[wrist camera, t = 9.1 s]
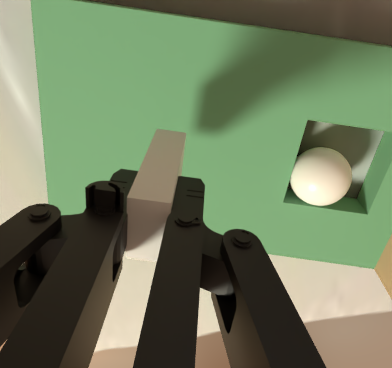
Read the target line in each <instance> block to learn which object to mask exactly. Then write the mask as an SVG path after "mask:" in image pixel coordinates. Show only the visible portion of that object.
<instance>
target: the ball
mask: <svg viewBox="0 0 392 368" xmlns="http://www.w3.org/2000/svg"><path fill="white" fill-rule="evenodd" d="M351 181H352V172H351V167H350V165H349V163H348V161H347V160H346V159H345V157H344V156H343V155H342V154H340V153H339V152H337V151H335V150H333V149H330V148H325V147H316V148H312V149H309V150H307V151H305V152H303V153H302V154H300V155H299V156H298V157H297V158H296V160H295V164H294V167H293V171H292V174H291V177H290V183H291V187H292V189H293V191H294V192H295V194H296V195H297V196H298V197H299V198H300V199H301V200H303V201H304V202H306V203H309V204H312V205H317V206H324V205H330V204H333V203H335V202H337V201H338V200H340V199H341V198H342V197H343V196H344V195H345V194H346V193H347V191H348V190H349V188H350V185H351Z"/></svg>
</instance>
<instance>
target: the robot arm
mask: <svg viewBox="0 0 392 368" xmlns="http://www.w3.org/2000/svg"><path fill="white" fill-rule="evenodd" d="M185 140H186V133H185V132H177V131H170V130H163V129H157V130H156V132H155V134H154V137H153V139H152V141H151V143H150V146H149V148H148V150H147V153H146V155H145V157H144V160H143V162H142V164H141V166H140V169H139V171H135V170H127V169H120V170H118V171H117V172H115V173H113V175H112V177H111V178H110V181H96V182H93V183H91V184H89V185H88V186H86V187H85V196H86V209H85V210H84V212H83V213H80V214H73V215H61V211H60V210H59V208H58V207H56V206H54V205H50V204H36V205H32V206H29V207H27V208H25V209H23V210H21V211H20V212H19V213H17V214H16V215H14V216H13V217H12V218H10V219H9V220H7V221H6V222H5V223H3V224H2V225H0V346H1V345H2V344H3V343H4V342H5V341H6V340H7V341H6V343H5V344H4V346H3V348H2V349H1V351H0V368H88V367H89V364H90V361H91V358H92V355H93V352H94V349H95V347H96V344H97V341H98V338H99V335H100V332H101V329H102V326H103V323H104V320H105V317H106V314H107V311H108V308H109V305H110V302H111V299H112V296H113V293H114V290H115V288H116V285H117V282H118V279H119V276H120V273H121V270H122V257H123V254H124V252H125V258H128V259H136V260H143V261H151V262H157V264H156V268H155V272H154V277H153V281H152V285H151V290H150V294H149V299H148V303H147V307H146V312H145V316H144V321H143V325H142V329H141V334H140V338H139V343H138V347H137V351H136V356H135V360H134V365H133V368H195V354H196V339H197V324H198V308H199V293H200V288H203V289H205V290H207V291H210V292H211V298H212V301H213V305H214V308H215V312H216V316H217V319H218V323H219V327H220V330H221V334H222V338H223V341H224V345H225V348H226V352H227V355H228V359H229V363H230V367H231V368H326V366H325V364H324V362H323V360H322V358H321V356H320V354H319V353H318V351H317V349H316V347H315V345H314V343H313V341H312V339H311V337H310V335H309V333H308V331H307V330H306V327H305V326H304V324H303V322H302V320H301V318H300V316H299V314H298V312H297V310H296V308H295V306H294V304H293V302H292V300H291V299H290V297H289V295H288V293H287V291H286V289H285V287H284V285H283V283H282V281H281V279H280V277H279V275H278V273H277V272H276V270H275V268H274V266H273V264H272V262H271V260H270V258H269V256H268V254H267V252H266V250H265V248H264V246H263V245H262V243H261V241H260V239H259V238H258V237H257V236H256V235H255V234H253V233H252V232H249V231H247V230H244V229H231V230H228V231H227V232H225V233H224V235H222V234H219V233H216V232H214V231H212V230H211V229H209V228H208V227H207V226H206V225H205V223H204V221H203V210H204V195H205V184H204V183H203V181H202V180H201V179H199V178H192V177H185V176H181V174H182V166H183V157H184V149H185ZM24 262H25V263H24Z"/></svg>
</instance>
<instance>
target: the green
mask: <svg viewBox="0 0 392 368" xmlns="http://www.w3.org/2000/svg"><path fill="white" fill-rule="evenodd" d="M31 10H32V22H33V33H34V44H35V55H36V67H37V78H38V89H39V101H40V112H41V123H42V135H43V146H44V157H45V169H46V180H47V191H48V203H49V204H50V205H54V206H56V207H58V208H59V210H60V211H61V215H73V214H80V213H83V212H84V210H85V209H86V196H85V187H86V186H88V185H89V184H91V183H93V182H96V181H110V178H111V177H112V175H113V173H115V172H117V171H118V170H120V169H127V170H135V171H139V169H140V166H141V164H142V162H143V160H144V157H145V155H146V153H147V150H148V148H149V146H150V143H151V141H152V139H153V137H154V134H155V132H156V130H157V129H163V130H170V131H177V132H185V133H186V140H185V149H184V157H183V166H182V174H181V176H185V177H192V178H199V179H201V180H202V181H203V183H204V184H205V195H204V210H203V221H204V223H205V225H206V226H207V227H208V228H209V229H211V230H212V231H214V232H216V233H219V234H222V235H224V233H225V232H227V231H228V230H231V229H244V230H247V231H249V232H252V233H253V234H255V235H256V236H257V237H258V238H259V239H260V241H261V243H262V245H263V246H264V248H265V250H266V252H267V254H272V255H279V256H286V257H293V258H300V259H307V260H315V261H322V262H329V263H336V264H343V265H350V266H357V267H364V268H371V269H375V271H376V273H377V275H378V276H379V278H380V280H381V282H382V283H383V285H384V287H385V288H386V290H387V292H388V294H389V295H390V297H391V299H392V46H389V45H383V44H376V43H369V42H363V41H356V40H349V39H342V38H336V37H329V36H322V35H316V34H309V33H302V32H296V31H289V30H282V29H275V28H269V27H262V26H255V25H249V24H242V23H235V22H228V21H222V20H215V19H208V18H202V17H195V16H188V15H181V14H175V13H168V12H161V11H155V10H148V9H141V8H134V7H128V6H121V5H114V4H108V3H101V2H94V1H87V0H31ZM307 120H312V121H318V122H325V123H332V124H339V125H346V126H353V127H359V128H366V129H373V130H380V131H385V132H384V134H383V137H382V139H381V141H380V144H379V146H378V149H377V151H376V153H375V156H374V158H373V161H372V163H371V166H370V168H369V170H368V173H367V175H366V178H365V180H364V182H363V185H362V187H361V190H360V192H359V194H358V197H357V199H356V198H349V197H342V198H341V199H340V200H338V201H337V202H335V203H333V204H330V205H324V206H317V205H312V204H309V203H306V202H304V201H303V200H301V199H300V198H299V197H298V196H297V195H296V194H295V192H294V191H293V189H287V187H288V184H289V181H290V177H291V174H292V171H293V167H294V164H295V160H296V157H297V154H298V150H299V147H300V144H301V140H302V137H303V134H304V130H305V127H306V123H307Z"/></svg>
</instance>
